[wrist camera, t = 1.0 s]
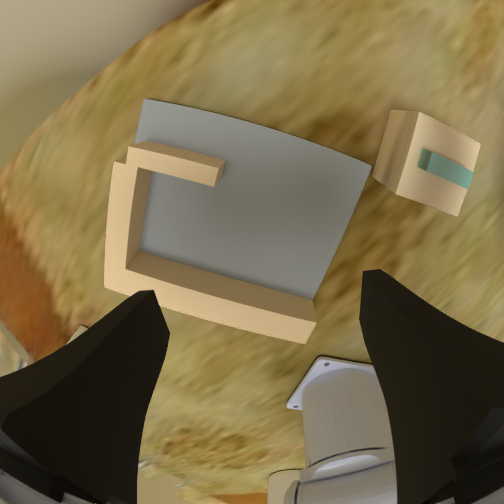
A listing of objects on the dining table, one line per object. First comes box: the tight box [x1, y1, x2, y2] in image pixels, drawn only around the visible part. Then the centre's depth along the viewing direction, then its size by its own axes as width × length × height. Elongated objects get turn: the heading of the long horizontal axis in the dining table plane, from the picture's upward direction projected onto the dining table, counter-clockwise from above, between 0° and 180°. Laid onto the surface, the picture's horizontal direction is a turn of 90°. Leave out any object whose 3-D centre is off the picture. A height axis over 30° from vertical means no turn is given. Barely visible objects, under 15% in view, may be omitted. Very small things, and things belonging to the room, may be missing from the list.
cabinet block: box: [372, 110, 481, 217], centre depth 14 cm, size 4×4×5 cm
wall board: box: [104, 99, 372, 344], centre depth 17 cm, size 14×12×3 cm
